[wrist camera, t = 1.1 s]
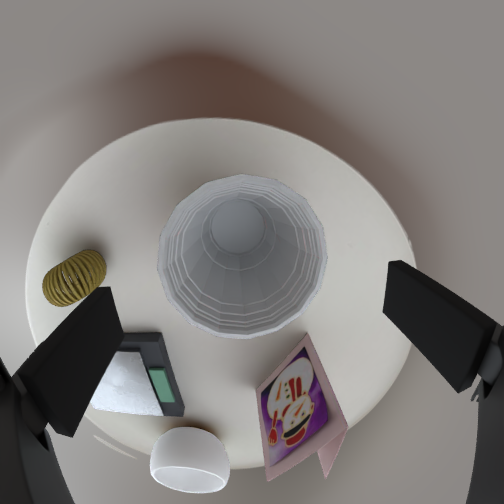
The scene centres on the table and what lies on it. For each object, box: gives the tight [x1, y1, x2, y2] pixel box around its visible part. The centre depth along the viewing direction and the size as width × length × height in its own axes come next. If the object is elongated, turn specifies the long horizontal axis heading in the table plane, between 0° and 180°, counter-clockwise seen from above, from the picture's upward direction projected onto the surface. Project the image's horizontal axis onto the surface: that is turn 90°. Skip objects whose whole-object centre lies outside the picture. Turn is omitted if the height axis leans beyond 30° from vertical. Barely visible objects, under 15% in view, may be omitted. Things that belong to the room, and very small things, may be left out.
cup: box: [150, 427, 230, 493], centre depth 33 cm, size 12×12×10 cm
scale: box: [90, 333, 185, 417], centre depth 31 cm, size 14×15×3 cm
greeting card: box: [256, 333, 348, 482], centre depth 27 cm, size 11×7×15 cm, turn 147°
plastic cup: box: [157, 174, 328, 339], centre depth 22 cm, size 11×11×12 cm
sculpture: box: [42, 250, 106, 307], centre depth 24 cm, size 8×4×8 cm, turn 111°
